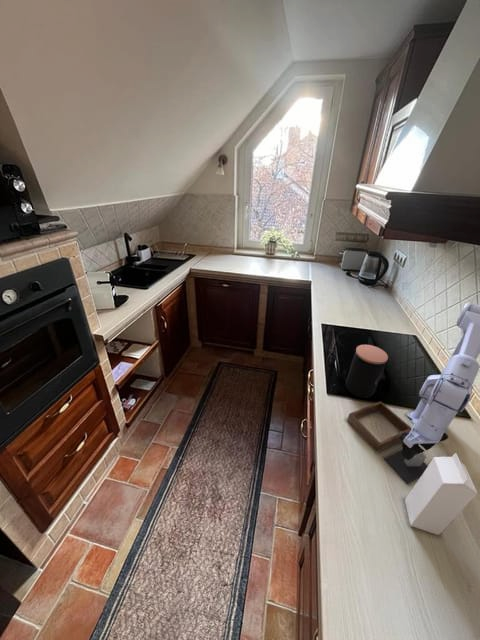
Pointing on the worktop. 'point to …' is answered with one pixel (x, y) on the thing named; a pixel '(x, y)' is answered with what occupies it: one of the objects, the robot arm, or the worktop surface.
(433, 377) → the robot arm
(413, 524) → the milk
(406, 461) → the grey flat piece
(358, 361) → the coffee jar
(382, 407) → the brown wooden tray
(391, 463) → the mat
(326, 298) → the worktop surface
